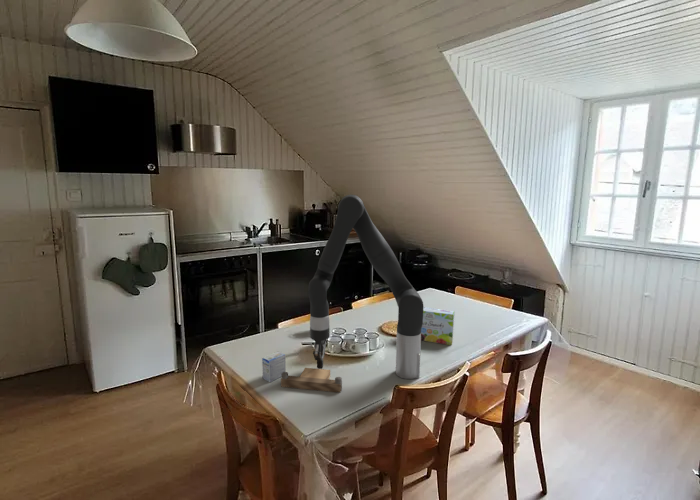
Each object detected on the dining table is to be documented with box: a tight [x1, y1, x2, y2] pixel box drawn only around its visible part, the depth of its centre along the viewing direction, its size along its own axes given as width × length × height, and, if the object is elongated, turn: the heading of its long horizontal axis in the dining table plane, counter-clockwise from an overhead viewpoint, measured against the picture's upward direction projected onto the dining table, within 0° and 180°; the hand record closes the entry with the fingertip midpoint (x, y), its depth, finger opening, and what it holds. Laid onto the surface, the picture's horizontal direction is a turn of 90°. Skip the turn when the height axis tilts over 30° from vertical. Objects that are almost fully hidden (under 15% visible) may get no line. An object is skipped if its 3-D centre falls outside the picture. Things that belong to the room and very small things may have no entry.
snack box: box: [421, 306, 455, 346], centre depth 189 cm, size 21×6×15 cm, turn 70°
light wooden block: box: [299, 367, 331, 379], centre depth 152 cm, size 10×8×3 cm
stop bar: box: [280, 371, 343, 393], centre depth 147 cm, size 22×3×4 cm, turn 80°
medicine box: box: [261, 351, 287, 383], centre depth 154 cm, size 8×4×9 cm, turn 141°
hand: (320, 367), depth 159 cm, fingers closed
